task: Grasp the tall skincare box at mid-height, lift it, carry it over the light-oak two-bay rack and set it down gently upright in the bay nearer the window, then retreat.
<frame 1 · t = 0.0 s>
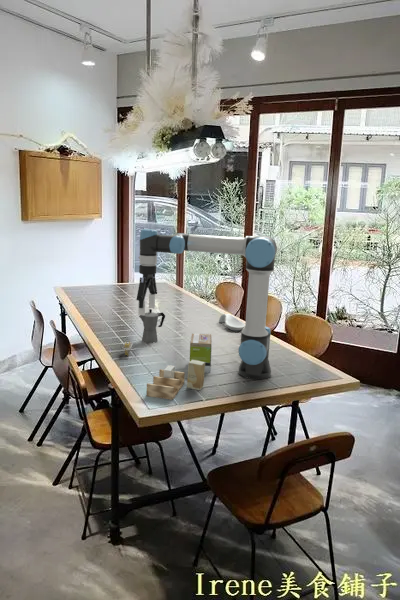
hand: (146, 311, 212), 28 cm above the table, fingers open, 13 cm apart
oak rack: (165, 391, 195), on the table
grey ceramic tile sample: (168, 385, 199), point 1 cm above the table, touching oak rack
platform: (127, 355, 238), on the table
skincare box: (195, 389, 199), on the table
tea box: (200, 367, 225), on the table
spoon rest: (230, 327, 297), on the table
coffeepot: (151, 340, 261), on the table
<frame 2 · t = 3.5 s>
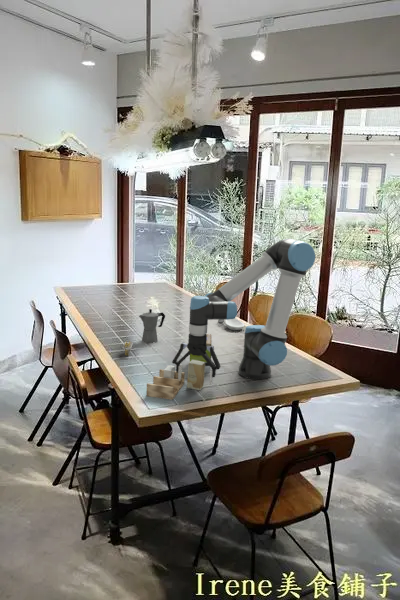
hand: (195, 381, 198), 3 cm above the table, fingers open, 13 cm apart
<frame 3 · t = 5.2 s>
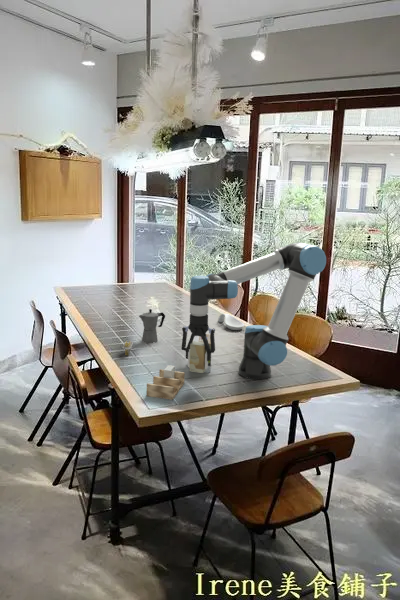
hand: (197, 366, 197), 10 cm above the table, fingers closed on skincare box, 6 cm apart
skincare box: (198, 371, 197), point 8 cm above the table, touching gripper
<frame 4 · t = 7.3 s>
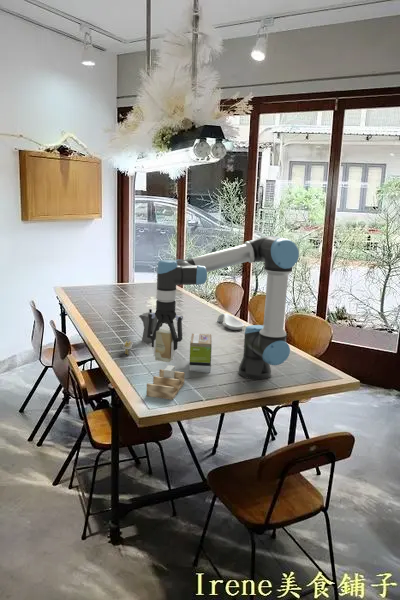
hand: (164, 356, 187), 17 cm above the table, fingers closed on skincare box, 6 cm apart
skincare box: (164, 360, 188), point 15 cm above the table, touching gripper
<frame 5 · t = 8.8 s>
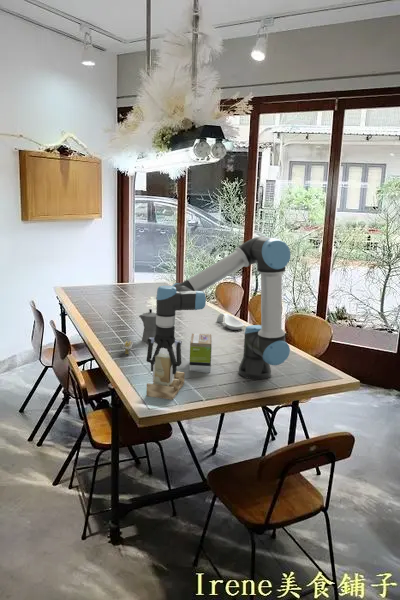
hand: (163, 380, 190), 7 cm above the table, fingers closed on skincare box, 6 cm apart
skincare box: (163, 384, 190), point 5 cm above the table, touching gripper
when the fingers open (4 cm above the table, at t = 10.2 s): skincare box drops 1 cm, resting on oak rack.
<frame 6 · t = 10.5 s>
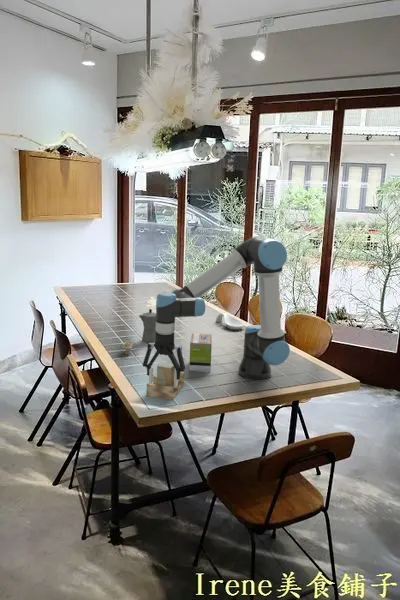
hand: (163, 384, 190), 5 cm above the table, fingers open, 10 cm apart
skincare box: (164, 393, 191), point 1 cm above the table, touching oak rack
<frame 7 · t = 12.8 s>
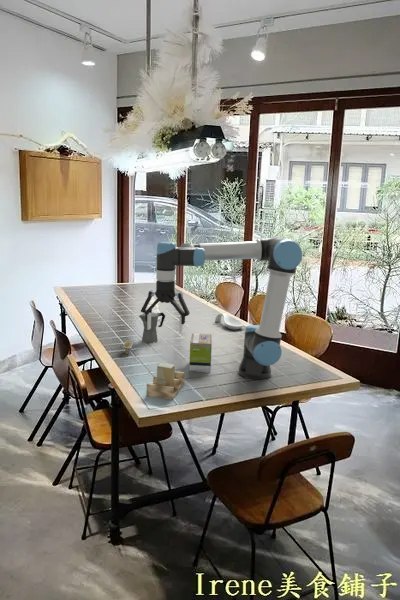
hand: (164, 330, 196), 25 cm above the table, fingers open, 13 cm apart
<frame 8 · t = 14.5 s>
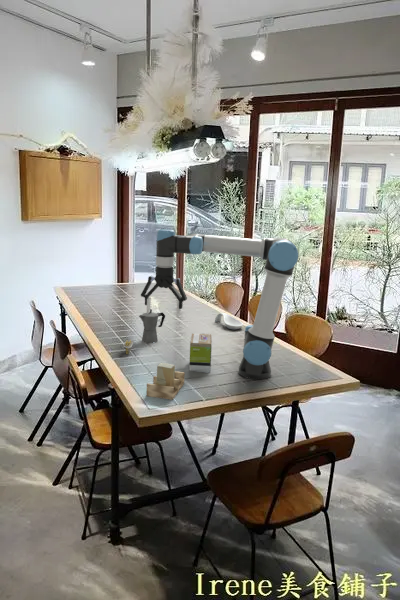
hand: (163, 314, 205), 29 cm above the table, fingers open, 13 cm apart
at the end: skincare box 0.7 cm from the target spot on the oak rack, point 0.8 cm above the oak rack's base; skincare box tilted 0°; the gripper is holding nothing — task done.
